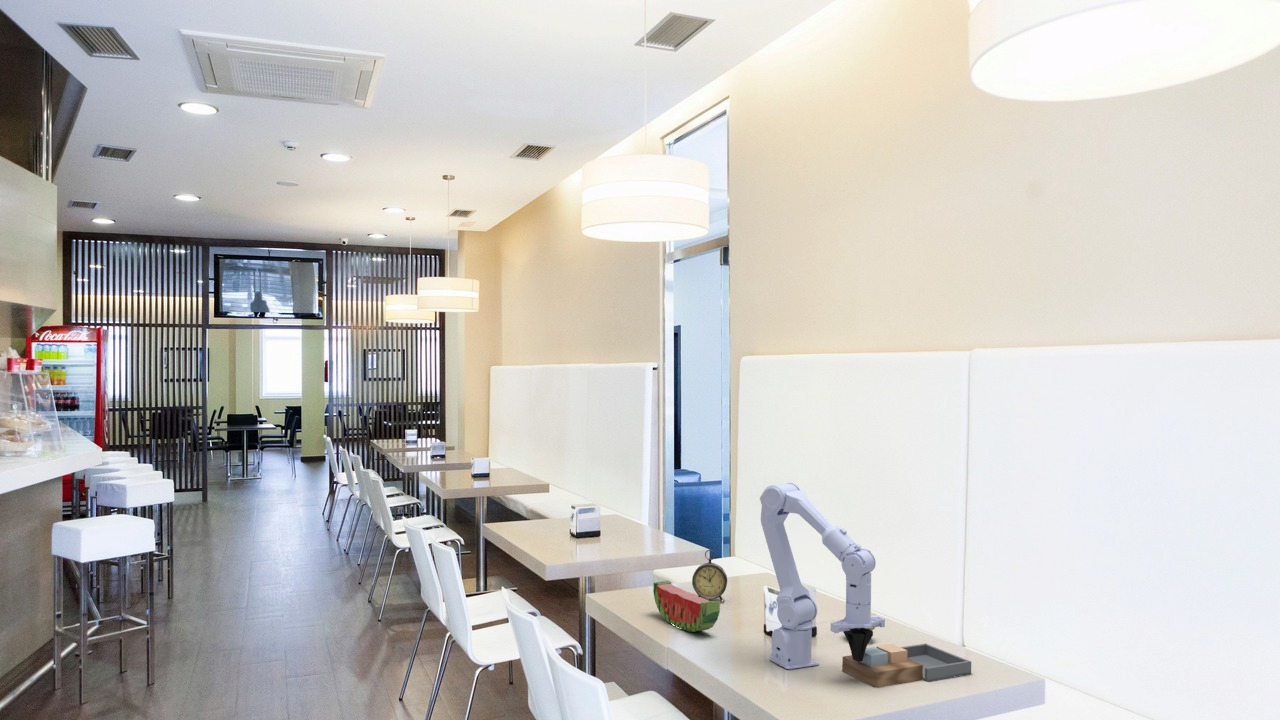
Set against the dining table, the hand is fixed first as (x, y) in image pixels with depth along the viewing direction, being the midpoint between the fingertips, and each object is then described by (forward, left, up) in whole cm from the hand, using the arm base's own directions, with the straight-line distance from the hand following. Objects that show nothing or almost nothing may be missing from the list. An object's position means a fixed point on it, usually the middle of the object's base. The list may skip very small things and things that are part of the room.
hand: (857, 660), depth 194 cm
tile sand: (+10, 0, -1) cm, 11 cm away
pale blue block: (+4, 0, -1) cm, 5 cm away
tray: (+21, 0, -4) cm, 22 cm away
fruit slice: (-18, +52, -5) cm, 55 cm away
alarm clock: (+2, +74, -5) cm, 74 cm away
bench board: (+7, 0, -4) cm, 9 cm away
